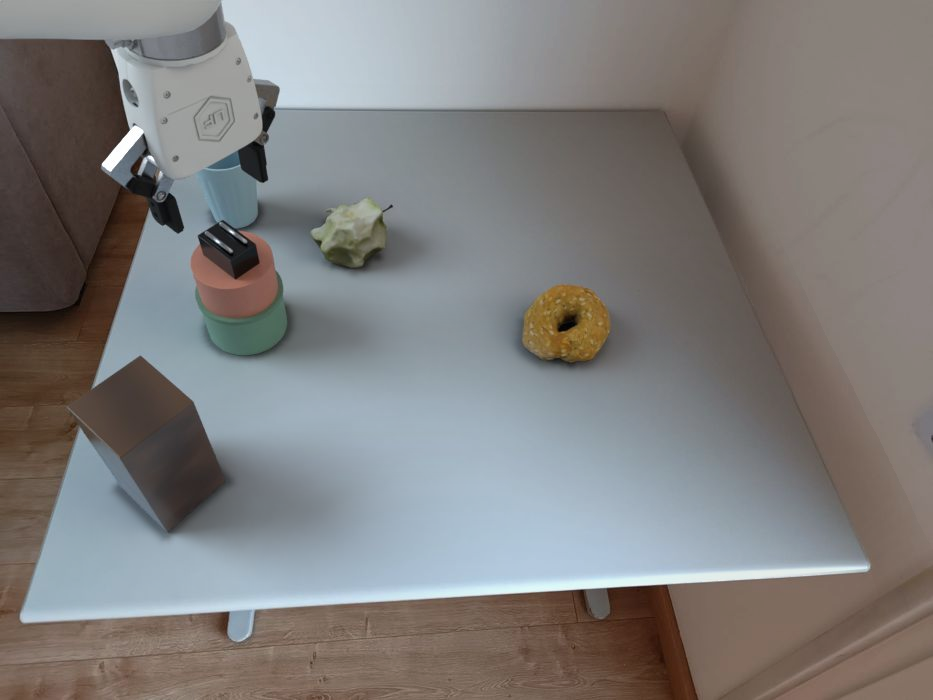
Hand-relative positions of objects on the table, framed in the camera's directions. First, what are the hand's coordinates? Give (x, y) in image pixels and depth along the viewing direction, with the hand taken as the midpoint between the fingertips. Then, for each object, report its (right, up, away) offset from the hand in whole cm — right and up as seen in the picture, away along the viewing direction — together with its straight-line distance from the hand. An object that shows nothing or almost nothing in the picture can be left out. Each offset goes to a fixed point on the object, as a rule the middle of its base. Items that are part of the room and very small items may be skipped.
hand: (214, 199), depth 66 cm
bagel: (+35, -12, +19) cm, 42 cm away
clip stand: (-5, -27, +4) cm, 28 cm away
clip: (-1, -5, +7) cm, 8 cm away
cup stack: (-2, -11, +16) cm, 19 cm away
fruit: (+9, -1, +25) cm, 26 cm away
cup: (-6, +3, +26) cm, 27 cm away
